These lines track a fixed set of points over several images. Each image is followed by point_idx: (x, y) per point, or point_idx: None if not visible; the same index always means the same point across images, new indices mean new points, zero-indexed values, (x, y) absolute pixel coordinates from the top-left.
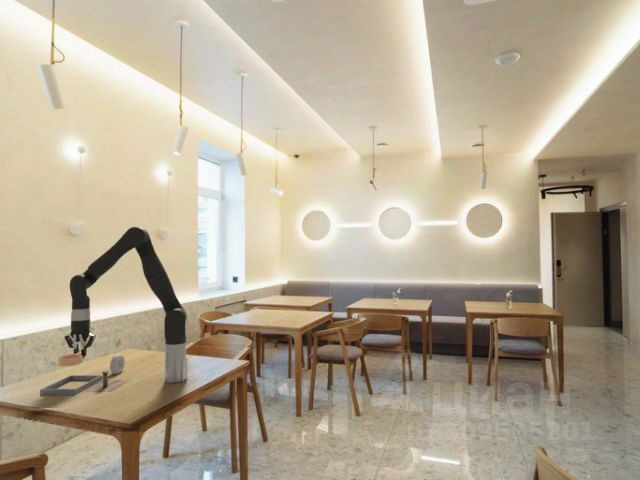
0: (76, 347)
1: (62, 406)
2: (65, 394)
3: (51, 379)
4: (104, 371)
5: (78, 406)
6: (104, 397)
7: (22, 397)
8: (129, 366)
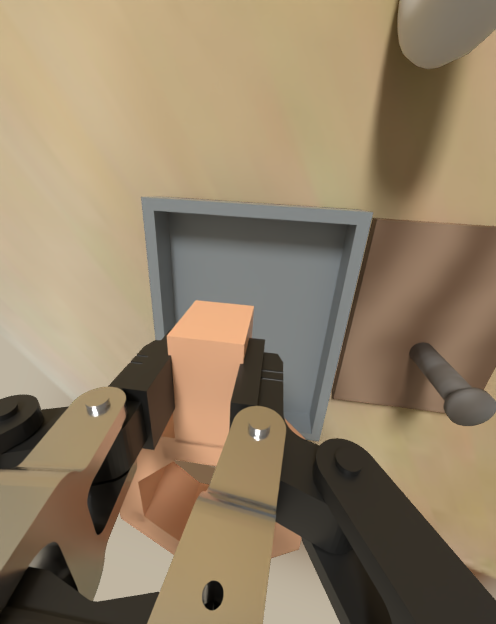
0: (130, 464)
1: None
2: None
3: (10, 132)
4: (462, 399)
5: None
6: (438, 437)
7: None
8: None
